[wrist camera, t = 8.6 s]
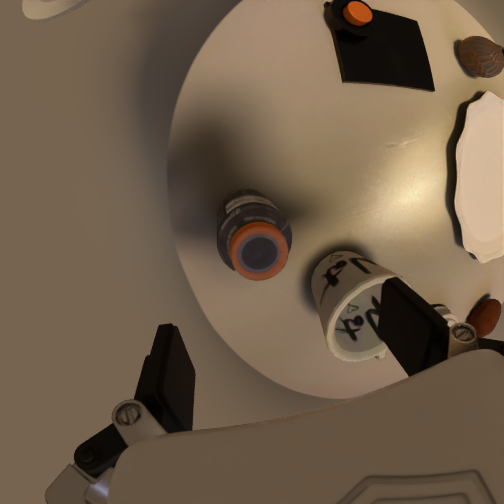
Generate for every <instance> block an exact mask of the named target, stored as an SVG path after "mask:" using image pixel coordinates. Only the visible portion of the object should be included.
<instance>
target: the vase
mask: <svg viewBox="0 0 504 504" xmlns="http://www.w3.org/2000/svg"><path fill="white" fill-rule="evenodd" d="M459 57H460V60H461V62H462V64H463V65H464V66H465V68H466V69H467V70H469V71H470V72H471V73H472V74H474V75H476V76H479V77H483V78H490V77H494V76H496V75H498V74H499V73H500V72H501V71H502V69H503V67H504V48H503V47H502V46H500V45H497V44H495V43H494V42H492V41H491V40H489V39H487V38H484V37H481V36H471V37H468V38H466V39H464V40H463V41H462V42H461V43H460V46H459Z"/></svg>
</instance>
